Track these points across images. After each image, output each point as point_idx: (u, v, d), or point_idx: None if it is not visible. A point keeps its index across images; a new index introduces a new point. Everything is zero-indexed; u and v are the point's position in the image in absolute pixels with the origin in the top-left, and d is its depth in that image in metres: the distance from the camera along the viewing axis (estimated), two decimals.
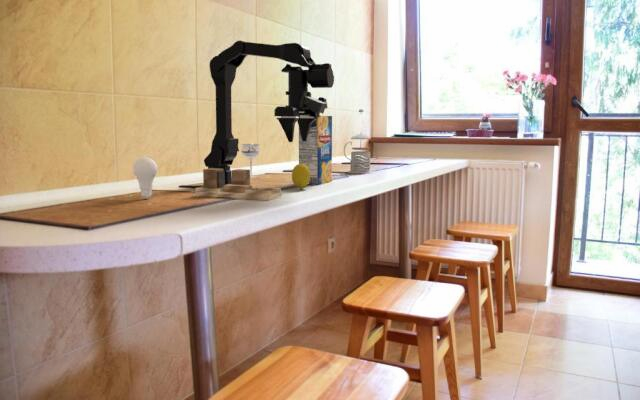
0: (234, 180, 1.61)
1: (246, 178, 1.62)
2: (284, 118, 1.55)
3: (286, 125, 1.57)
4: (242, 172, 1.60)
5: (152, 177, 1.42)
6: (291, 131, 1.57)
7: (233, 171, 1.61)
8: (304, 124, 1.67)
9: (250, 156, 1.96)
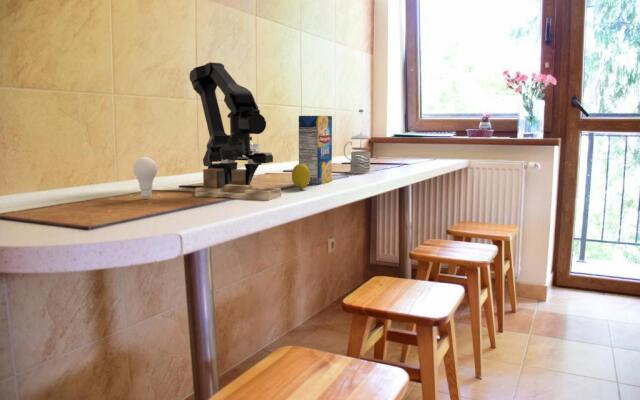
0: (234, 180, 1.61)
1: None
2: None
3: None
4: (242, 172, 1.60)
5: (152, 177, 1.42)
6: None
7: (233, 171, 1.61)
8: None
9: None
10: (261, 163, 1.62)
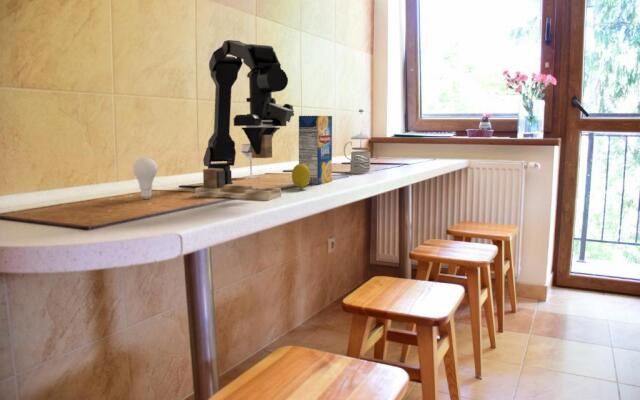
0: (266, 146, 1.43)
1: None
2: (249, 128, 1.39)
3: (253, 135, 1.42)
4: (271, 136, 1.45)
5: (152, 177, 1.42)
6: (258, 142, 1.42)
7: (265, 136, 1.43)
8: (265, 134, 1.47)
9: (250, 156, 1.96)
10: None
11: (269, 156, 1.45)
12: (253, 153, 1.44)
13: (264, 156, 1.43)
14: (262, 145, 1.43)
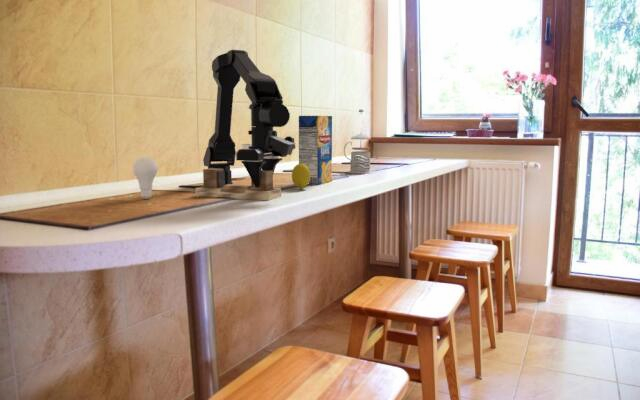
0: (267, 183, 1.44)
1: None
2: (250, 162, 1.39)
3: (252, 169, 1.41)
4: (272, 172, 1.46)
5: (152, 177, 1.42)
6: (258, 175, 1.41)
7: (267, 172, 1.43)
8: (268, 165, 1.49)
9: None
10: None
11: None
12: (254, 189, 1.45)
13: None
14: (264, 182, 1.43)
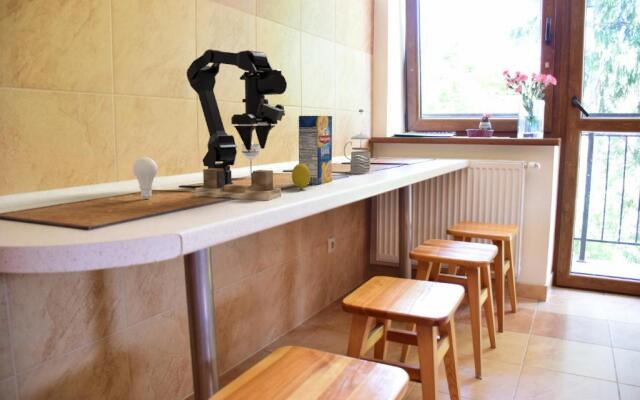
0: (267, 183, 1.44)
1: None
2: (241, 126, 1.53)
3: (244, 133, 1.56)
4: (272, 172, 1.46)
5: (152, 177, 1.42)
6: (249, 139, 1.56)
7: (267, 172, 1.43)
8: (262, 131, 1.66)
9: (250, 156, 1.96)
10: None
11: None
12: (254, 189, 1.45)
13: None
14: (264, 182, 1.43)
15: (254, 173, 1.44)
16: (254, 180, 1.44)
